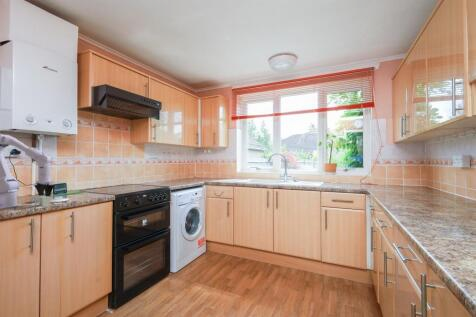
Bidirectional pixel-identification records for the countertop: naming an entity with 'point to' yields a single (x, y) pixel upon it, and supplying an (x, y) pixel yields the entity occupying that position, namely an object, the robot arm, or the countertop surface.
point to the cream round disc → (58, 200)
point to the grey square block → (36, 198)
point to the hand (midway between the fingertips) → (44, 195)
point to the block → (43, 201)
